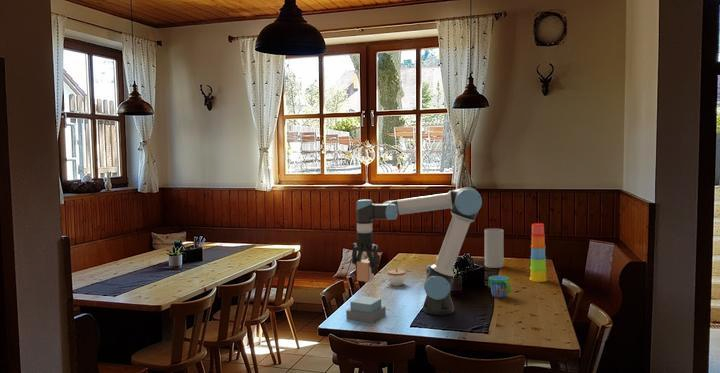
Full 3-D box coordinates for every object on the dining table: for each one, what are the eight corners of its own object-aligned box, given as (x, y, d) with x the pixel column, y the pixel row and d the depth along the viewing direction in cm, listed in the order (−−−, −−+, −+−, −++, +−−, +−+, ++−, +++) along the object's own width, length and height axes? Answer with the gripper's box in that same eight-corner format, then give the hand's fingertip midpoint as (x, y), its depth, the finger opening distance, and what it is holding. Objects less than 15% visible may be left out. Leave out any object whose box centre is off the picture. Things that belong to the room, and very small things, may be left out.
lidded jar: (385, 285, 315) (385, 270, 314) (391, 281, 325) (390, 266, 324) (402, 287, 311) (402, 271, 310) (408, 283, 321) (407, 267, 320)
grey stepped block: (385, 314, 260) (385, 298, 260) (372, 322, 248) (371, 305, 247) (360, 310, 267) (360, 294, 266) (346, 318, 255) (346, 302, 254)
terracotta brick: (373, 279, 258) (373, 260, 257) (367, 281, 252) (367, 263, 252) (363, 277, 260) (362, 259, 260) (357, 280, 255) (356, 261, 255)
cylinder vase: (481, 265, 365) (481, 229, 364) (497, 263, 369) (497, 228, 367) (490, 269, 353) (490, 231, 352) (507, 267, 357) (507, 230, 355)
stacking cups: (550, 280, 319) (551, 223, 317) (537, 282, 315) (537, 225, 313) (539, 277, 329) (539, 221, 326) (525, 279, 325) (525, 222, 322)
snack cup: (482, 293, 294) (482, 275, 294) (498, 291, 298) (498, 273, 297) (499, 300, 280) (499, 281, 279) (515, 298, 283) (516, 279, 283)
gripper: (385, 231, 253) (386, 279, 255) (351, 229, 263) (352, 275, 264) (378, 234, 247) (379, 283, 248) (343, 231, 256) (344, 278, 258)
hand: (365, 279), depth 256 cm, fingers closed on terracotta brick, 6 cm apart
